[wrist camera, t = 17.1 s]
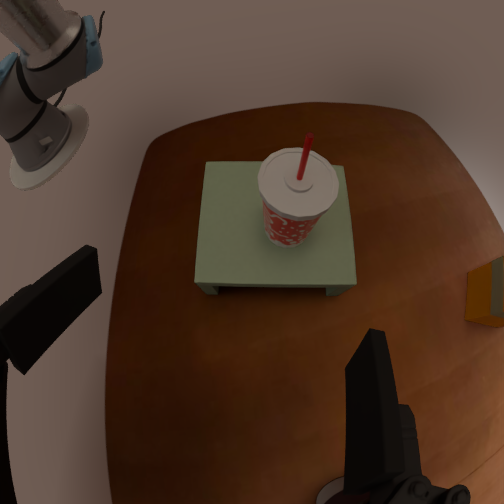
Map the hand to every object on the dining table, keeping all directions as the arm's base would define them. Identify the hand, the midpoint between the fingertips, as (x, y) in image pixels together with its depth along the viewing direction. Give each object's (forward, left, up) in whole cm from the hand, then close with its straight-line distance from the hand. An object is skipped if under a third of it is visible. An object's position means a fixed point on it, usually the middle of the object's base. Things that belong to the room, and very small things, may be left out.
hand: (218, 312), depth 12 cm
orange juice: (-2, +38, -21) cm, 43 cm away
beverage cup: (-10, +5, -14) cm, 18 cm away
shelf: (-11, +4, -21) cm, 24 cm away
